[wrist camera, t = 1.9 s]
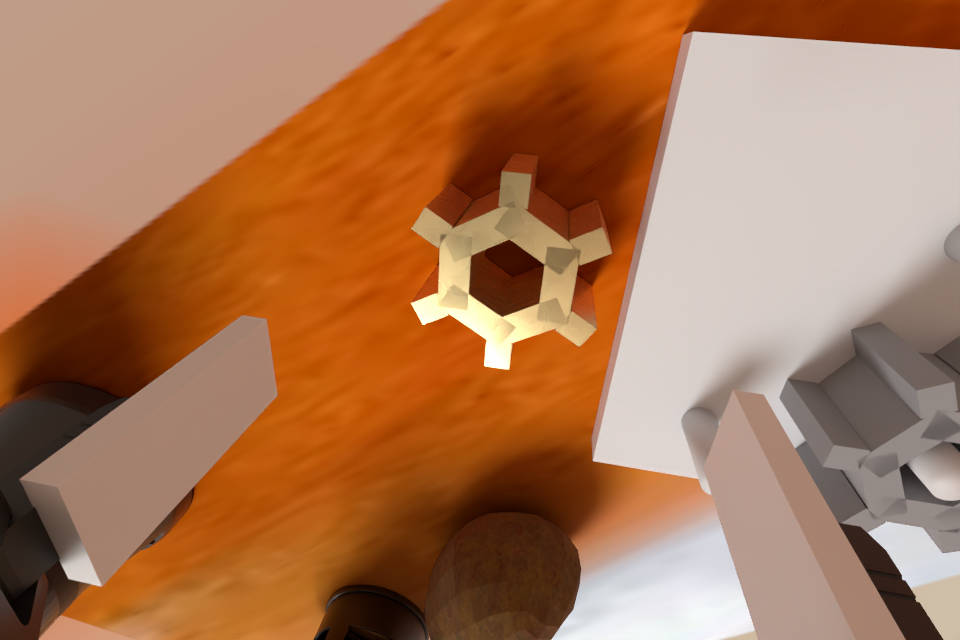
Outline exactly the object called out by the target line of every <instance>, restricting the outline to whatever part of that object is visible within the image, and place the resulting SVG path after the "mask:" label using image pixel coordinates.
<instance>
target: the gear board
mask: <svg viewBox="0 0 960 640" xmlns="http://www.w3.org/2000/svg"><path fill="white" fill-rule="evenodd" d="M733 390H737V391H744V392H751V393H757V394H764V396H765V398H766V399H767V401H768V403H769V405H770V406H771V408H772V410H773V412H774V413H775V415H776V417H777V418H778V420H779V422H780V424H781V425H782V427H783V429H784V430H785V432H786V434H787V436H788V437H789V439H790V441H791V443H792V444H793V446H794V448H795V449H796V451H797V453H798V455H799V456H800V458H801V460H802V462H803V463H804V465H805V467H806V468H807V470H808V472H809V474H810V475H811V477H812V479H813V481H814V482H815V484H816V486H817V487H818V489H819V491H820V493H821V494H822V496H823V498H824V500H825V501H826V503H827V505H828V506H829V508H830V510H831V512H832V513H833V515H834V517H835V519H836V520H837V522H838V523H843V524H849V525H854V526H860V527H862V528H863V529H864V530H865V531H866V532H867V533H868V532H869V531H871V530H873V529H875V528H877V527H878V526H880V525H882V524H884V523H886V522H885V521H887V522H893V523H899V524H905V525H911V526H917V527H923V528H924V530H925V531H926V532H927V533H928V535H929V536H930V537H931V539H932V540H933V541H934V542H935V544H936V545H937V546H938V548H939V549H940V550H941V552H942V553H948V552H955V551H960V50H954V49H939V48H925V47H910V46H896V45H881V44H867V43H852V42H838V41H823V40H809V39H794V38H780V37H765V36H751V35H736V34H722V33H707V32H690V33H687V34H684V35H683V36H682V41H681V45H680V50H679V54H678V58H677V63H676V67H675V72H674V76H673V81H672V85H671V89H670V94H669V98H668V103H667V107H666V111H665V116H664V120H663V125H662V129H661V134H660V138H659V142H658V147H657V151H656V156H655V160H654V165H653V169H652V173H651V178H650V182H649V187H648V191H647V196H646V200H645V204H644V209H643V213H642V218H641V222H640V226H639V231H638V235H637V240H636V244H635V249H634V253H633V257H632V262H631V266H630V271H629V275H628V280H627V284H626V288H625V293H624V297H623V302H622V306H621V311H620V315H619V319H618V324H617V328H616V333H615V337H614V341H613V346H612V350H611V355H610V359H609V364H608V368H607V372H606V377H605V381H604V386H603V390H602V395H601V399H600V403H599V408H598V412H597V417H596V421H595V426H594V430H593V434H592V457H593V461H595V462H601V463H607V464H613V465H619V466H625V467H631V468H637V469H643V470H649V471H655V472H661V473H667V474H673V475H679V476H685V477H691V478H696V479H699V482H700V485H701V488H702V489H703V490H704V491H705V492H706V493H708V494H710V495H712V494H711V491H710V487H709V484H708V481H707V478H706V475H705V472H704V469H703V468H704V465H705V462H706V460H707V457H708V454H709V452H710V449H711V446H712V444H713V441H714V439H715V436H716V433H717V431H718V428H719V425H720V423H721V420H722V417H723V415H724V412H725V409H726V407H727V404H728V401H729V399H730V396H731V394H732V391H733Z"/></svg>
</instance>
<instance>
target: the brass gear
mask: <svg viewBox="0 0 960 640" xmlns="http://www.w3.org/2000/svg"><path fill="white" fill-rule="evenodd" d="M538 158H539V155H531V154H521V153H514V154H513V155H512V157H511V158H510V160H509V161H508V163H507V164H506V166H505V167H504V168H503V170H502V172H501V183H500V189H498V190H496V191H494V192H492V193H490V194H487V195H485V196H483V197H481V198H479V199H476V200H474V201H473V199H472V198H471V197H469V196H468V195H466V194H465V193H464V192H462V191H461V190H460V189H458V188H457V187H455V186H454V185H453V184H451V183H450V184H449V185H448V186H447V187H446V188H445V189H444V190H443V191H442V192H441V193H440V194H439V195H438V196H437V197H435V198H434V199H433V200H432V201H431V202H430V203H429V204H428V205H427V206H426V207H425V208H424V210H423V211H422V213H421V215H420V216H419V218H418V219H417V221H416V223H415V224H414V226H413V227H412V230H413V231H415V232H416V233H417V234H419V235H420V236H422V237H423V238H425V239H426V240H427V241H429V242H430V243H432V244H433V245H435V246H436V247H437V248H439V246H440V255H439V265H438V266H436V268H435V269H434V271H433V272H432V273H431V275H430V276H429V278H428V279H427V281H426V282H425V284H424V285H423V286H422V288H421V289H420V291H419V292H418V294H417V295H416V297H415V298H414V300H413V301H412V302H411V304H412V306H413V308H414V310H415V312H416V313H417V315H418V317H419V319H420V320H421V322H422V324H423V325H424V324H426V323H429V322H432V321H434V320H437V319H440V318H442V317H445V316H448V315H449V314H450V315H452V316H453V317H454V318H456V319H457V320H459V321H460V322H462V323H463V324H465V325H466V326H468V327H469V328H471V329H472V330H473V331H475V332H476V333H478V334H479V335H481V336H482V337H484V338H485V339H487V341H486V352H485V363H484V366H488V367H494V368H501V369H508V370H509V366H510V362H511V357H512V352H513V347H514V342H517V341H520V340H523V339H525V338H528V337H531V336H534V335H537V334H540V333H543V332H546V331H549V330H552V329H555V330H556V331H557V332H559V333H560V334H562V335H563V336H564V337H566V338H567V339H569V340H570V341H572V342H573V343H574V344H576V345H577V346H579V347H580V346H581V345H582V344H583V343H584V342H585V341H586V340H587V339H588V338H589V337H590V336H591V335H592V333H593V332H594V331H595V330H596V329H597V326H596V316H595V306H594V296H593V286H592V285H591V284H589V283H588V282H586V281H585V280H584V279H582V278H581V277H580V276H578V275H577V270H578V264H580V265H583V264H585V263H588V262H591V261H593V260H596V259H599V258H601V257H604V256H607V255H609V254H612V250H611V245H610V241H609V236H608V232H607V228H606V223H605V220H604V217H603V214H602V212H601V209H600V206H599V204H598V201H597V199H595V200H593V201H591V202H588V203H586V204H583V205H581V206H579V207H576V208H574V209H571V210H570V212H569V211H568V210H566V209H565V208H564V207H562V206H561V205H560V204H558V203H557V202H556V201H554V200H553V199H552V198H550V197H549V196H548V195H546V194H545V193H544V192H542V191H541V190H540V189H538V188H537V187H536V186H535V183H536V175H537V167H538ZM507 240H511V241H512V242H514V243H515V244H517V245H518V246H519V247H521V248H522V249H524V250H525V251H526V252H528V253H529V254H531V255H532V256H533V257H535V258H536V259H537V260H539V261H540V262H542V263H543V264H544V265H542V266H540V267H537V268H535V269H532V270H530V271H527V272H524V273H522V274H519V275H517V276H514V277H513V276H511V275H510V274H508V273H507V272H505V271H504V270H503V269H501V268H500V267H498V266H497V265H496V264H494V263H493V262H491V261H490V260H489V259H487V258H486V249H488V248H490V247H493V246H495V245H498V244H500V243H502V242H505V241H507Z"/></svg>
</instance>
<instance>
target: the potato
mask: <svg viewBox="0 0 960 640" xmlns="http://www.w3.org/2000/svg"><path fill="white" fill-rule="evenodd" d="M580 574H581V566H580V560H579V555H578V550H577V549H576V547H575V546H574V544H573V543H572V541H571V540H570V539H569V538H568V536H567V535H566V534H565V533H564V532H563V531H562V530H561V529H560V528H559V527H558V526H556V525H555V524H553V523H551V522H549V521H547V520H545V519H544V518H542V517H540V516H538V515H535V514H528V513H522V512H498V513H488V514H485V515H482V516H480V517H478V518H476V519H474V520H472V521H471V522H469V523H467V524H466V525H465V526H464V527H463V528H461V529H460V530H459V531H458V532H457V533H456V534H455V535H454V536H453V537H452V538H451V539H450V540H449V541H448V542H447V544H446V545H445V547H444V549H443V550H442V552H441V554H440V555H439V557H438V559H437V561H436V563H435V565H434V568H433V571H432V574H431V577H430V582H429V586H428V591H427V598H426V604H425V610H424V613H425V619H426V624H427V628H428V632H429V635H430V639H431V640H551V639H552V638H553V636H554V635H555V633H556V632H557V631H558V629H559V628H560V626H561V625H562V623H563V622H564V621H565V619H566V618H567V617H568V615H569V614H570V613H571V612H572V610H573V608H574V604H575V600H576V596H577V592H578V588H579V584H580Z"/></svg>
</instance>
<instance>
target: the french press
mask: <svg viewBox="0 0 960 640" xmlns="http://www.w3.org/2000/svg"><path fill="white" fill-rule="evenodd" d="M350 627H356V628H362V629H366V630H370V631H373V632H375V633H378V634H381V635H383V636H385V637H387V638H389V639H390V640H428V638H429V632H428V628H427V624H426V619H425V616H424V615H423V613H422V612H421V611H420V610H419V609H418V608H417V607H416V606H415V605H414V604H413V603H412V602H410V601H409V600H407V599H406V598H404V597H402V596H400V595H399V594H397V593H395V592H392V591H389V590H387V589H383V588H379V587H375V586H367V585H354V586H349V587H345V588H342V589H340V590H338V591H337V592H335V593H334V594H333V595H332V596H331V598H330V599H329V601H328V603H327V606H326V613H325V616H324V618H323V620H322V622H321V624H320V627H319V629H318V631H317V633H316V636H315V638H314V640H360V639H359V638H357V637H355V636H354V635H353V634H351V633H350V632H349V631H348V630H349V628H350Z"/></svg>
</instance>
